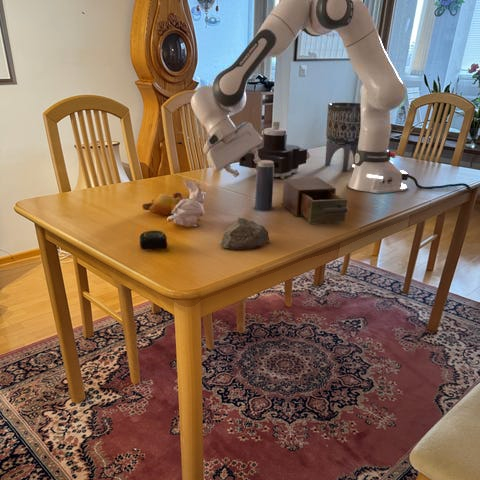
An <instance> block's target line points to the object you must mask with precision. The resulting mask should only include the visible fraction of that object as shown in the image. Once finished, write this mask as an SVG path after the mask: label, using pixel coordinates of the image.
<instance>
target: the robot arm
mask: <svg viewBox="0 0 480 480" xmlns="http://www.w3.org/2000/svg"><path fill="white" fill-rule="evenodd" d="M332 31H335V32H336V33H337V34H338V35H339V37H340V38H341V41H342V44H343V46H344V49H345V51H346V53H347V56H348V58H349V61H350V63H351V66H352V68H353V70H354V72H355V73H356V75H357V77H358V78H359V80H360V81H361V83H362V84H361V86H360V90H359V96H360V103H361V127H360V135H359V142H358V148H357V149H356V155H355V165H354V164H352V168H353V170H352V173H351V177H350V180H349V182H348V184H347V187H348V188H350V189H352V190H355V191H359V192H367V193H373V194H386V193H395V192H403V191H407V190H408V186H407V185H406V184H404V183H403V181H408V179H411V180H412V181H413V182H414V185H415V186H416V187H417V188H418V189H423V190H425V189H426V190H433V189H435V190H436V189H444V188H451V187H465V188H467V189H468V190H469V189H471V186H470V185H469V184H467V183H464V182H461V183H449V184H442V185H432V186H423V185H420V184H419V183H418V179H416V177H415V176H413V175H410V174H409V173H408V172H406V171H405V170H400V169H399V168H398V167H397V166H396V165H395V164H394V163H393V162H392V160H391V158H392V159H396V157H397V153H396V152H395V151H389V145H390V140H391V134H392V125H391V124H392V123H391V111H392V110H395V109H397V108H398V107H400V106H401V105H402V103H403V102H404V100H405V97H406V92H407V91H406V90H407V89H406V86H405V84H404V83H403V81H402V80H401V78H400V77H399V75H398V72H397V70H396V69H395V67H394V65H393V63H392V61H391V59H390V58H389V57H388V54H387V52H386V50H385V48H384V45H383V43H382V40H381V37H380V35H379V32H378V29H377V27H376V23H375V21H374V19H373V17H372V15H371V13H370V11H369V9H368V8H367V6H366V5H365V3H364V2H363V1H362V0H280V1H278V3H277V4H276V5H275V6H274V8H273V9H272V10H271V11H270V13H269V14H268V15H267V16H266V18H265V20H264V21H263V22H262V24H261V26H260V28H259V29H258V31H257V33H256V34H255V35H254V37H253V39H252V40H251V41H250V42H249V43H248V45H247V46H246V47H245V48H244V50H243V51H242V52H241V53H240V55H239V56H238V58H237V59H236V60H235V61H234V62H233V63H232V64H231V65H230V66H229V67H227V68H225V69H224V70H222V71H220V72H219V73H218V74H217V75H216V77H215V78H214V79H213V82H212V85H201V86H200V87H198V88H197V89H196V90H195V91H194V93H192V96H191V99H190V107H191V109H192V111H193V113H194V115H195V116H196V118H197V119H198V121H199V122H200V124H201V125H202V126H203V127H204V128H205V129H206V132H207V134H208V136H209V138H208V139H207V140H206V141H205V143H204V146H203V149H202V151H203V153H204V154H206V160H207V162H208V164H209V166H210V167H211V169H212V170H213V172H215V173H220V172H221V171H223V170H225V172H227V173H229V174H231V175H232V176H233V178H237V177H238V176H239V175H240V171H239V172H238V169H235V170H234V169H233V168H232V166H231V165H232V164H234V163H235V162H237V161H239V159H240V158H241V157H243V156H244V155H246V154H247V153H249V152H252V154H253V153H254V156H255V158H254V159H253V160H254V161H255V163H258V161H260V158H259V157H258V149H257V148H258V147H261V145H262V143H263V138H262V136H261V134H259V132H258V131H257V130H256V129H255V128H254V126H253V124H252V123H251V122H249V121H243V122H242V123H240V124H238V125H237V126H236V124H234V122H233V121H232V119H231V118H230V117H232V116H234V115H236V114H238V113H240V112H241V111H242V110H243V109H244V108H245V106H246V105H247V104H246V103H247V93H246V88H247V84H248V82H249V81H250V78H251V77H252V76H253V75H254V73H255V72H256V71H257V70H258V68H259V67H260V66H261V65H262V63H263V62H264V61H266V59H268V58H279V57H281V56H282V55H283V54H285V52H286V51H287V50H288V49H289V48H290V47H291V46H292V45H293V43H294V41H295V40H296V39H297V38H298V36H299V34H300V33H301V32H303V33H305V34H306V35H309V36H310V37H321V36H323V35H324V36H325V35H327V34H329V33H331V32H332Z"/></svg>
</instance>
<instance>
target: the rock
mask: <svg viewBox="0 0 480 480" xmlns="http://www.w3.org/2000/svg"><path fill="white" fill-rule="evenodd" d="M234 221H235V222H234V223H232V224H231V225H230V226H229V227H228V228H227V229H226V230H225V231H224V232H223V236H222V239H221V246H222V247H223V248H224V249H226V248H227V249H230V250H232V251H244V250H248V249H249V250H250V249H256V248H259V246H261V245H265V244H266V242H267V243H268V242H270V237H269V231H268V230H267V228H266V227H264V225H262V224H259V223H257V222H255V221H253V220H247V219H245V218H242V217H240V216H239V217H237V218H236V220H234Z"/></svg>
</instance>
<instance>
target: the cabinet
mask: <svg viewBox="0 0 480 480" xmlns="http://www.w3.org/2000/svg"><path fill="white" fill-rule="evenodd" d="M282 188H283V189H282V205H283V206H284V208H286V209H287V210H288V211H290V213H291V214H292V215H294V216H295V217H296V218H299V217H304V216H303V215H302V214H301V213H300V212H299V205H300V193H301V192H317V191H331V192H333V193H334V194H336V191H337V188H336V187H335V186H332V185H331V184H329V183H327V182H326V181H324V180H323V179H321V178H319V177H311V178H310V177H308V178H284V179H283V186H282Z"/></svg>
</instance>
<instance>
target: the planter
mask: <svg viewBox="0 0 480 480" xmlns="http://www.w3.org/2000/svg"><path fill="white" fill-rule="evenodd" d="M360 127H361V102H330V103H328V104H327V115H326V131H325V138H326V146H325V160H324V161H325V162H324V166H330V165H331V163H332V159H333V157H334V154H335V153H336V152H337V151H338V150H340V149H342V150H343V159H342V172H348V170H349V169H348V167H349V161H350V154H351V153H352V157H353V165H355V155H356V149H357V148H358V142H359V135H360Z"/></svg>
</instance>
